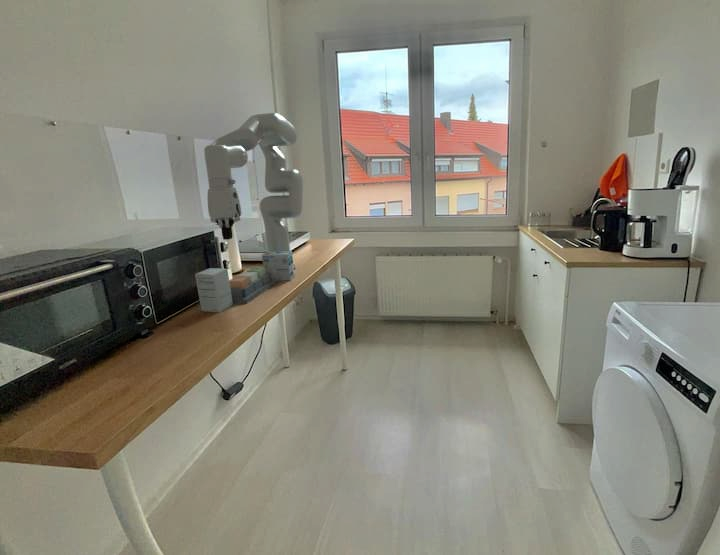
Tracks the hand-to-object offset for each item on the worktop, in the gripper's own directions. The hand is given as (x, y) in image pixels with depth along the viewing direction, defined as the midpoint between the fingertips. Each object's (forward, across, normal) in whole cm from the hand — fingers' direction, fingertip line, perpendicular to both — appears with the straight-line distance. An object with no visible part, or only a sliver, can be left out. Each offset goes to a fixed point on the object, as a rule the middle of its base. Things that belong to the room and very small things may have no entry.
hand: (227, 238), depth 145 cm
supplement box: (+21, 0, +12) cm, 24 cm away
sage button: (+17, -3, -12) cm, 21 cm away
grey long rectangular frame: (+20, -3, -5) cm, 21 cm away
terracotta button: (+18, -3, +1) cm, 18 cm away
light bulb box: (+20, -6, -24) cm, 32 cm away
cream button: (+18, -3, -5) cm, 19 cm away
